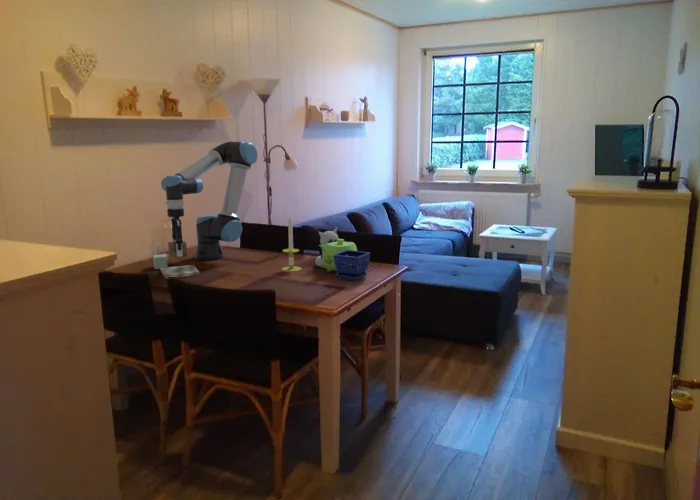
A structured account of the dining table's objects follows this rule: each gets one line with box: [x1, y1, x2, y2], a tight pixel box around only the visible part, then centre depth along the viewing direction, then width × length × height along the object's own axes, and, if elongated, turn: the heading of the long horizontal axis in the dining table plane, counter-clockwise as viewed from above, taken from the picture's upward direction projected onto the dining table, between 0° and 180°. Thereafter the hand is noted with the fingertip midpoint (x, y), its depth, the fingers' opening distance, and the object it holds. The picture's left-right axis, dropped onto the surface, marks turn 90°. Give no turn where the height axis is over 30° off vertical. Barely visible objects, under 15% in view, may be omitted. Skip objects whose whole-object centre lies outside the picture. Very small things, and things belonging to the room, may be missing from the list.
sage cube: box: [152, 253, 169, 270], centre depth 282 cm, size 6×6×6 cm
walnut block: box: [167, 240, 188, 259], centre depth 269 cm, size 8×8×6 cm
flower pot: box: [334, 250, 371, 282], centre depth 260 cm, size 13×13×12 cm
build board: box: [159, 264, 200, 280], centre depth 271 cm, size 16×16×2 cm
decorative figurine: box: [315, 226, 340, 269], centre depth 283 cm, size 15×15×20 cm
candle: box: [281, 216, 302, 273], centre depth 275 cm, size 10×10×27 cm
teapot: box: [318, 238, 358, 274], centre depth 274 cm, size 25×22×16 cm
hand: (178, 254), depth 269 cm, fingers closed on walnut block, 8 cm apart
